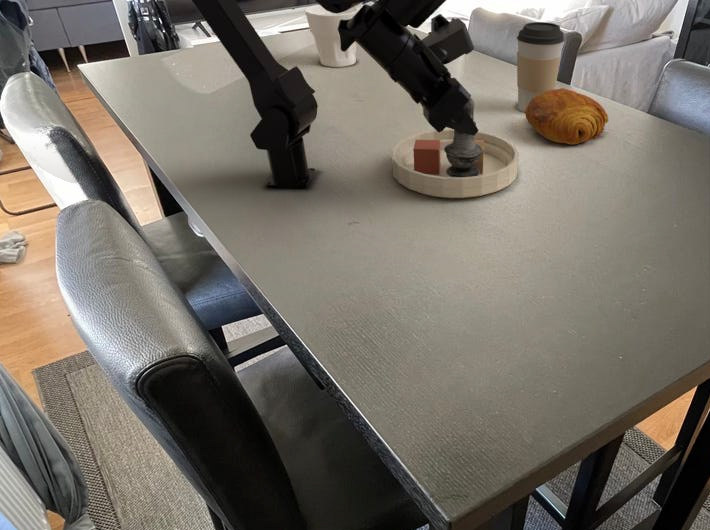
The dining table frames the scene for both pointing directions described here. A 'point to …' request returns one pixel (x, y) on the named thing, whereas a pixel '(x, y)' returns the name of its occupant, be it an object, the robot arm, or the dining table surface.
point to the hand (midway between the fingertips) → (472, 128)
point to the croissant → (566, 116)
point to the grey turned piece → (463, 151)
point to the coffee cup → (537, 60)
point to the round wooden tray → (496, 165)
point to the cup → (330, 35)
